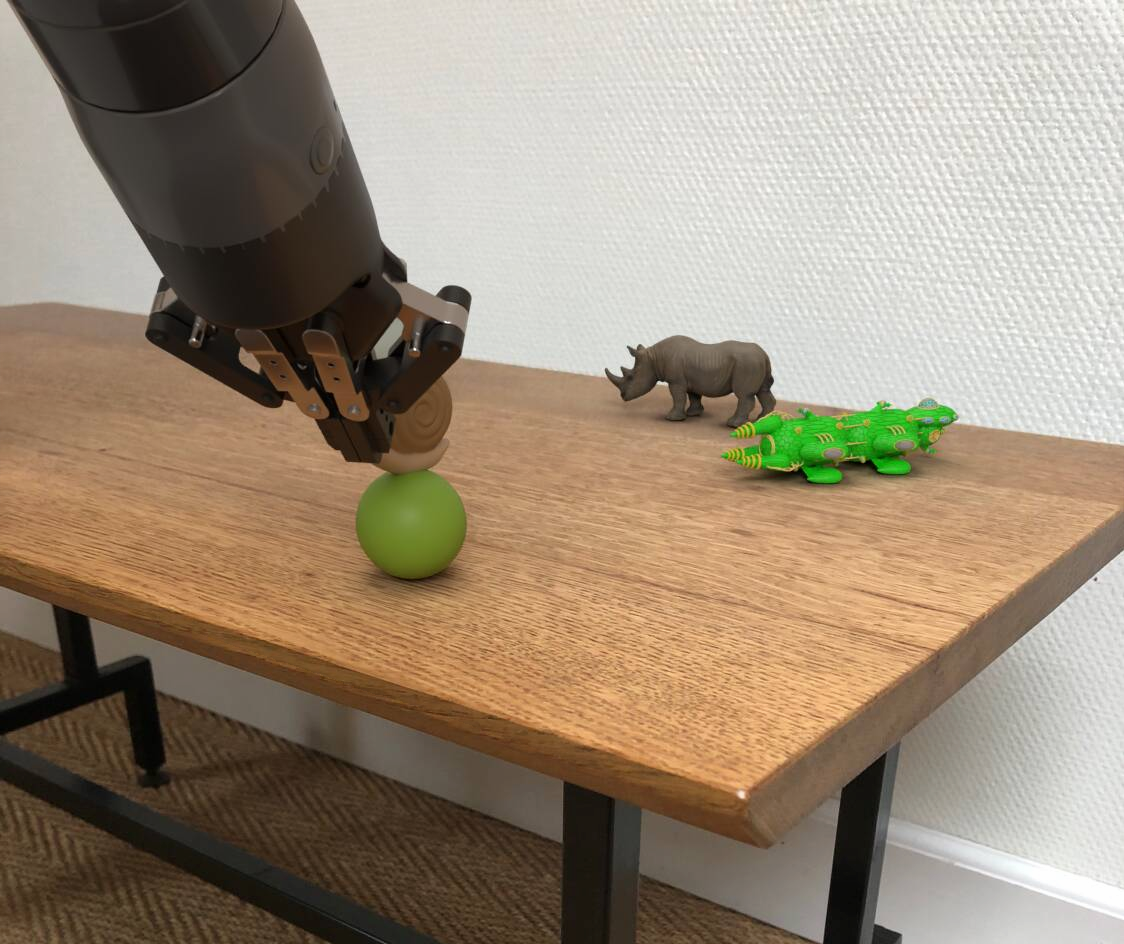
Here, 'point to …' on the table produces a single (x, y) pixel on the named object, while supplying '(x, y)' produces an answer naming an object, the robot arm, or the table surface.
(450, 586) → the table surface
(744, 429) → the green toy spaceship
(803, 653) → the table surface
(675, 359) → the rhino figurine
